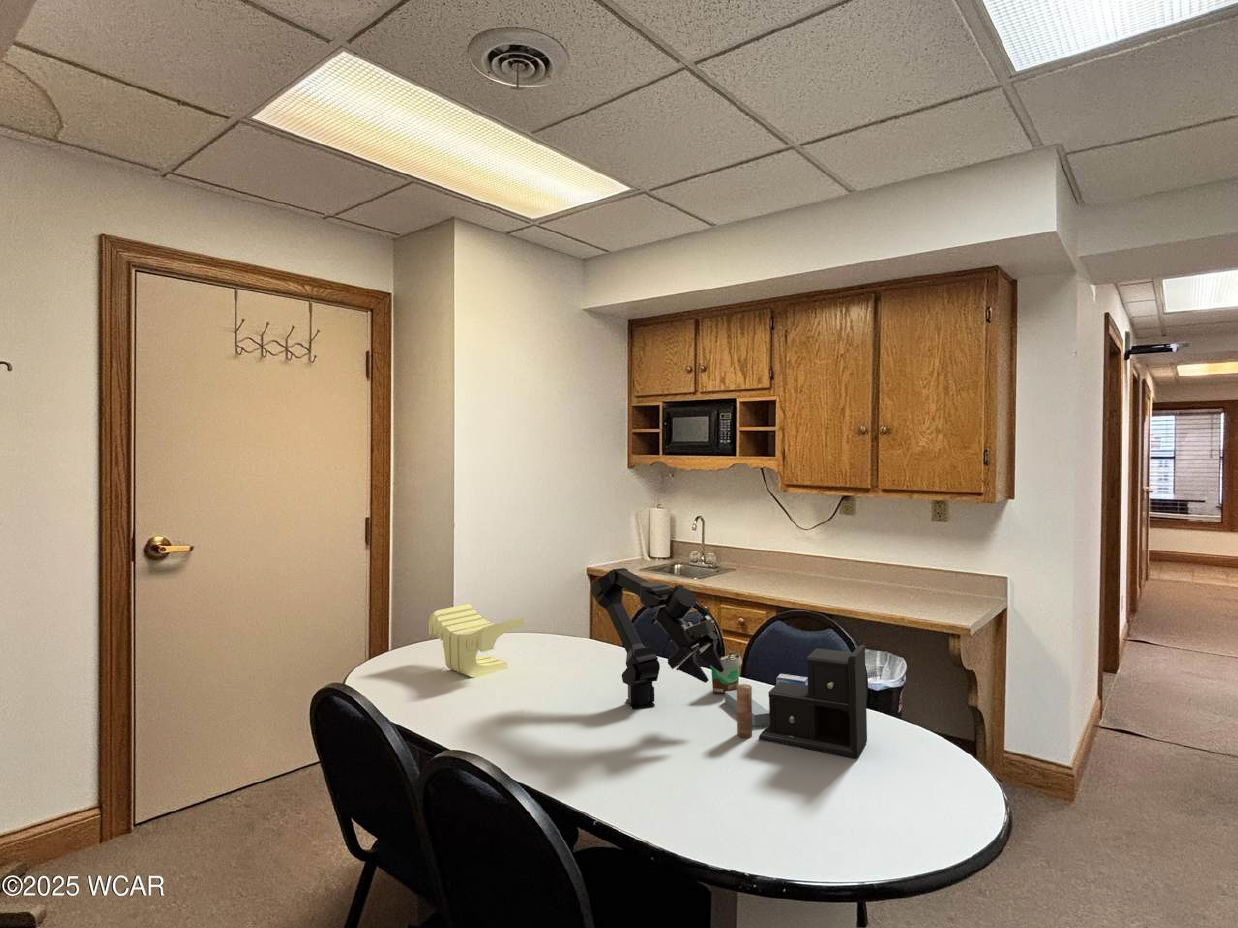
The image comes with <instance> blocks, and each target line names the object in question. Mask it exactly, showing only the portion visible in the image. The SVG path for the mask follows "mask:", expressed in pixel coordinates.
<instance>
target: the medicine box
mask: <svg viewBox="0 0 1238 928" xmlns="http://www.w3.org/2000/svg"><path fill="white" fill-rule="evenodd" d="M775 680H776V682H775V683H776V685H777V684H778V683H779V682H787V683H794V684H801V685H808V676H801V675H800V676H799V675H793V674H787V673H779V675H778V676H777V677H776V679H775ZM776 685H775V686H776Z"/></svg>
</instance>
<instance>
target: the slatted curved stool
mask: <svg viewBox="0 0 1238 928" xmlns="http://www.w3.org/2000/svg"><path fill="white" fill-rule="evenodd" d="M524 624H525V622H524V617H520V618H516V619H510V620H506V621H502V622H499V623H492V622H490V621H489V620H487V619H485V618H483V616H481V615H480V614H478V612H477V611H476V609H474V608H473V606H472V604H470V603H467V604H462V605H457V606H456V605H455V606H453V607H452V606H451V607H447V608H442V609H438V610H435V611H433V613H431V615H430V616H429V619H428V635H435V636H437V638H439V639H440V641H442V648H443V654H444V660H445V661H444V662H445V666H446V668H447V669H449V670H452V671H455V672H457V673H460V674H462V675H466V676H468V677H471V678H478V677H481V676H483V677H484V676H485V675H489V674H493V673H495V672H496V671H497V672H499V670H500V671H504V670H506V668H507V669H509V666H508V663H507V661H505V660H504V659H503V660H502V659H499V658H497V657H494V656H493V657H492V656H490V655H487V654H485V655H482V656H477V654H478V652H479V651H480V652H481V653H484V652H488V651H490V650H491V651H492V650H494V648H495V644H496V642H497V640H498V639H499V638H500V637H501V636H502V635H503V634H505V633H508V632H510V631H514V630H516V629H519V628H523V627H524V626H525V625H524ZM503 669H504V670H503ZM497 672H496V673H497Z"/></svg>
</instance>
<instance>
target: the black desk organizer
mask: <svg viewBox="0 0 1238 928" xmlns="http://www.w3.org/2000/svg"><path fill="white" fill-rule="evenodd" d="M806 663H807V670H806V671H807V677H808V685H801V684H794V683H787V682H779V683H778V684H777V685H774V687H772V688H771V689H770V690H769V691H768V695H767V696H768V705H769V706H768V709H769V710H768V711H769V716H770V724H769V725H766V727H765V729H763V731H761V733H760V734H759V736H758V739H759V741H763V742H769V743H775V744H780V745H784V746H785V745H786V746H790V747H795V748H802V749H806V750H812V751H817V752H822V753H827V754H833V755H838V756H842V757H847V758H853V759H858V758H859V756H860V755H861V753H862V751H863V749H864V748H865V746H866V744H867V742H868V722H867V721H868V720H867V716H868V715H867V692H866V691H867V684H866V680H867V678H866V645H865V644H861V645H858V646H857V647H856V649H854V650H853V652H851V651H843V650H835V649H826V648H815V649H814V650H812V652H811V653H810V654H808V656H807V657H806Z"/></svg>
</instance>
